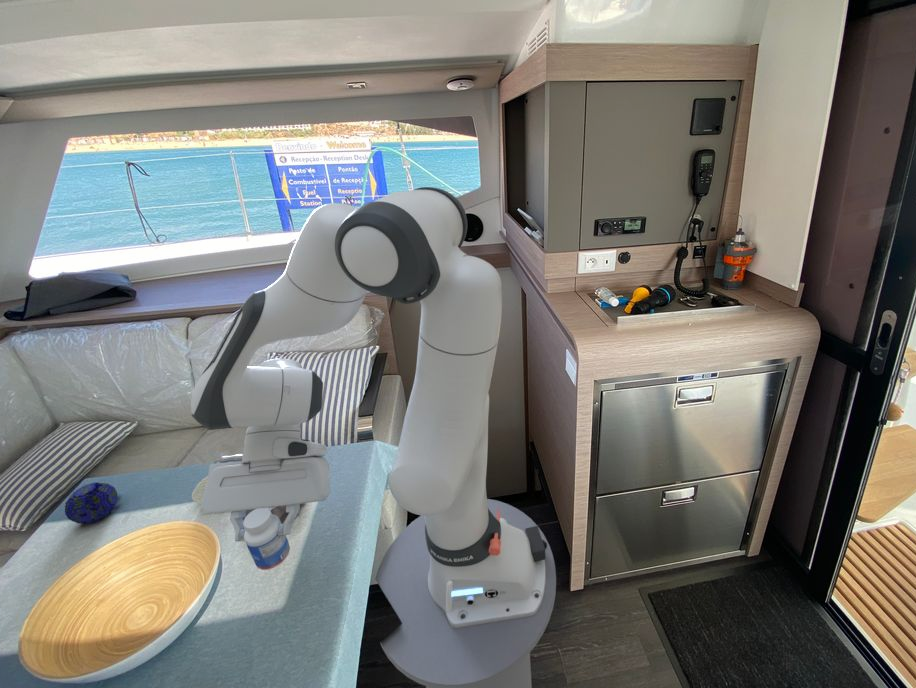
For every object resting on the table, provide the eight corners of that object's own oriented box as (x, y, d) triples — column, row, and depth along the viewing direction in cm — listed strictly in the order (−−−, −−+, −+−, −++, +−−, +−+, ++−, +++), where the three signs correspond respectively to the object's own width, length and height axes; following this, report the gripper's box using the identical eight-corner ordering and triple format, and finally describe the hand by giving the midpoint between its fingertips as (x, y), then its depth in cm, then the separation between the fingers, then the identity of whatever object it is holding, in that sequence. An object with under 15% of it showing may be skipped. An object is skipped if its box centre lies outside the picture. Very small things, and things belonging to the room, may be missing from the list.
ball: (87, 506, 97) (71, 482, 94) (127, 494, 100) (113, 471, 97) (69, 534, 90) (52, 509, 87) (113, 521, 93) (98, 496, 90)
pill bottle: (252, 555, 72) (234, 516, 68) (285, 535, 75) (270, 497, 71) (260, 578, 68) (242, 538, 64) (294, 556, 72) (279, 516, 68)
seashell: (225, 469, 103) (239, 464, 99) (230, 504, 101) (244, 501, 97) (186, 479, 96) (198, 475, 92) (190, 517, 94) (203, 515, 90)
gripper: (199, 456, 70) (184, 549, 65) (322, 443, 72) (317, 533, 67) (222, 457, 76) (210, 542, 71) (335, 445, 78) (332, 527, 73)
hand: (263, 538), depth 69 cm, fingers closed on pill bottle, 5 cm apart
